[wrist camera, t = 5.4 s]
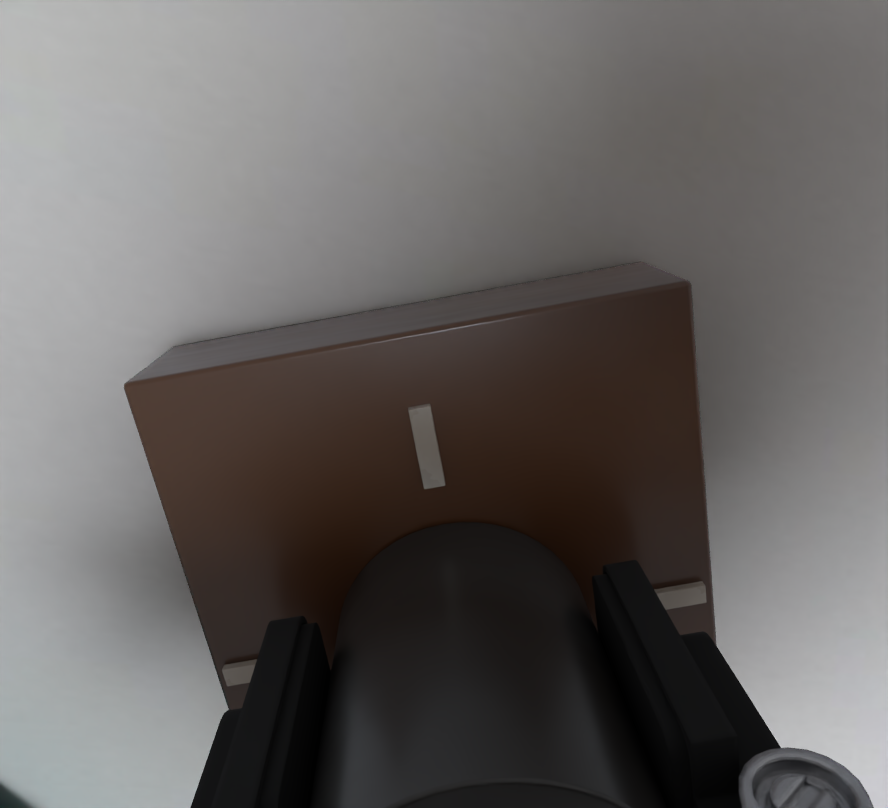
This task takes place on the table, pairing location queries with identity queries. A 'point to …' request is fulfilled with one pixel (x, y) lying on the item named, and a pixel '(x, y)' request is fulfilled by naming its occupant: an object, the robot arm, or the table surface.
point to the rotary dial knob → (474, 684)
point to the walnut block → (432, 447)
